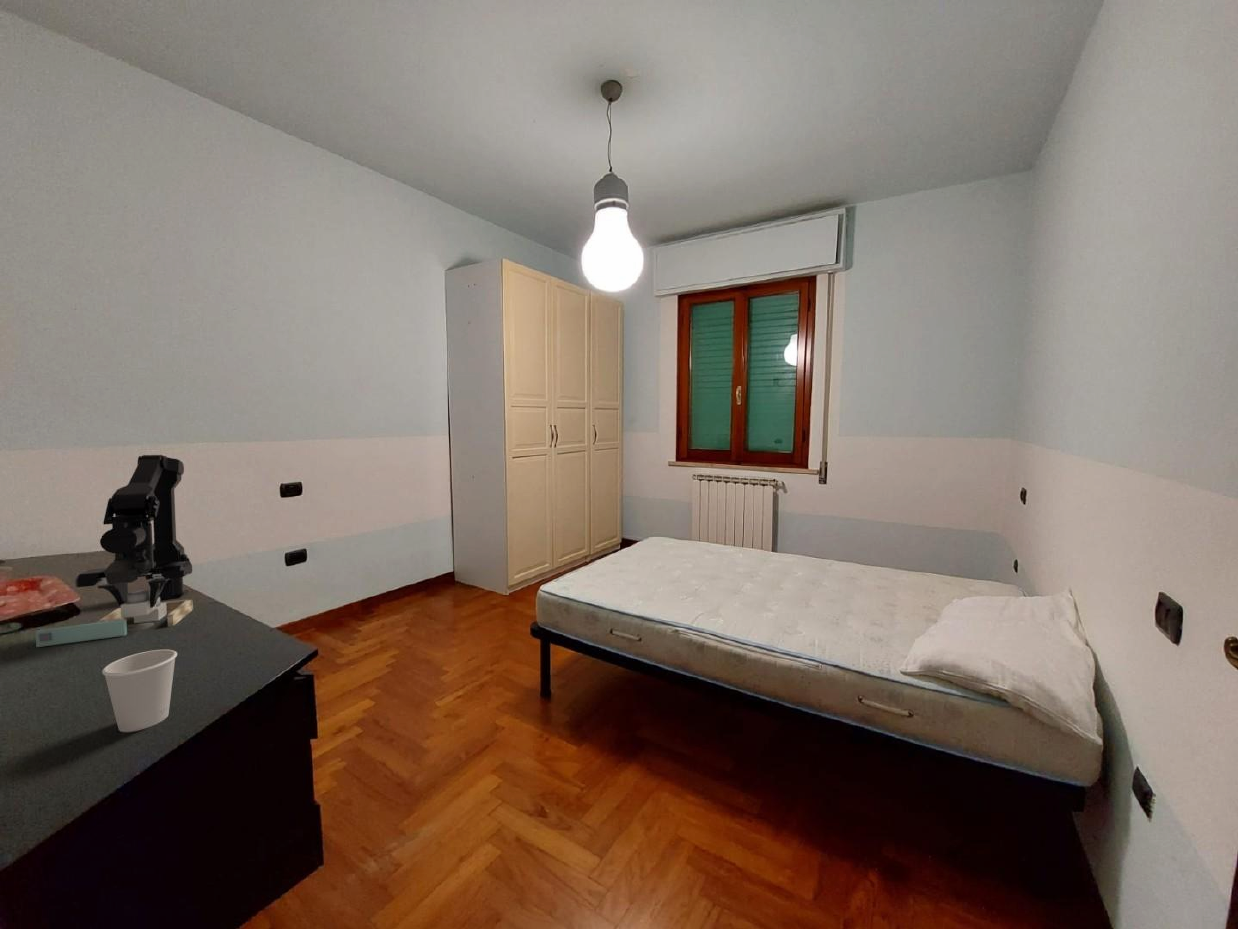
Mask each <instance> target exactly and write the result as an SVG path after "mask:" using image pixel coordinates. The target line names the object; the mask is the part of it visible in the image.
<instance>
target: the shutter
mask: <svg viewBox="0 0 1238 929" xmlns="http://www.w3.org/2000/svg"><path fill="white" fill-rule="evenodd" d="M127 626H128V625H127V619H123V620H114V621H106V622H98V623H95V622H90V623H83V624H82V623H81V624H75V625H73V624H72V625H66V626H65V625H64V626H58V627H48V628H42V629H37V630H36V631H35V644H36V648H41V647H47V646H48V647H49V646H55V645H63V644H70V643H78V642H79V643H80V642H86V641H93V640H100V639H110V638H114V637H115V638H116V637H124V636H127V635H128V631H127V628H128V627H127Z"/></svg>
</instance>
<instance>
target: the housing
mask: <svg viewBox="0 0 1238 929" xmlns="http://www.w3.org/2000/svg"><path fill="white" fill-rule="evenodd" d="M193 602H194V601H193V598H191V599H190V598H189V599H181V600H170V601H164V602H161V601H160V603H166V607H167V614H166V616H167V618H166V619H167V628H168V627H174V626H175V625H176V624H178V623H179V622H180V621H181V620H183V619H184V618H185V617H186V616H188V615H189V613H191V612H192V611H193V610H194V604H193ZM163 618H164V617H162V618H161V619H163ZM123 619H126V620H127V619H134V616H132V617H124V618H121V607H120V606H119V607H118V608H116V609H115V610H112V612H110V613H108V614H106V615H105V616H103V617H102V618H100V619H98V620H97V621H95V622H94V623H98V622H106V621H114V620H123ZM154 625H155V623H154V622H152V621H149V622H141V623H136V624H135V625H131V626H128V627H127V632H135V631H140V630H146V629H147V628H151V627H153V626H154Z"/></svg>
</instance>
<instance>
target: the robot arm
mask: <svg viewBox="0 0 1238 929" xmlns="http://www.w3.org/2000/svg"><path fill="white" fill-rule="evenodd" d="M184 473H185V466H184V463H183V461H181V460H180V459H178V458H172V457H168V456H166V455H163V454H143V455H138V458H137V465H136V468H135V470H134V472H133V473H132V476H131V478H130V479H129V482H128V483H127V485H125V486H122V487H119V488H118V489H116V491H115V492H114V493H113V494H112V496H111V497H110V498H108V500H107V505H106V509H105V513H104V518H103V522H102V523H103V526H104V525H111V528H110V529H108V530H107V531H105V532H103V534H102V535H101V537H100V539H99V544H100V547H101V548H102V549H103V550H104V551H105V552H107V553H110V554H114V560H113V561H112V562H111V563H110V564H109V565H108V566H107V567H102V568H90V569H89V570H86V571H84V572H81V573H78V575H77V576H76V578H75V581H74V582H75V588H85V587H86V588H87V587H95V586H96V585H97V584H98V583H99V585H97V588H98V589H103V590H106V591H107V592H109V593H110V594H111V595H112V596H113V597H114V599H115V601H116V603H117V604H118V605H119V608H120V607H121V605H122V604H123V603H125V602H127V594H128V593H129V590H128V589H129V588H128V584H129V583H133V582H136V581H137V580H138V579H139V578H141V577H145V579H146V580H147V581H148V580H150V581H148V582H147V583H148V586H149V587H150V588H149V590H150V591H149V597H150V607H151V608H152V607H154V606H155V604H156V602H157V600H158V597H160V601H165V600H175V599H181V598H182V597H184V596H185V595H186V594H188V593H189V592H190V590H189V589H186V590H184V577H186V576H187V575H190V574H192V573H193V564H192V562H191V561H190V558H189V557H188V555H187V554H186V553H185V547H184V546H183V545H182V544H181V543H180V542H179V541H178V540H177V529H176V528H177V527H176V523H177V522H176V503H175V500H176V499H175V489H176V487H178V485H179V484H180V483H181V481H182V475H184ZM152 523H153V525H152ZM152 526H153V527H152Z"/></svg>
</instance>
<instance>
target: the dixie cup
mask: <svg viewBox="0 0 1238 929" xmlns="http://www.w3.org/2000/svg"><path fill="white" fill-rule="evenodd" d="M177 656H178V652H177V651H175V650H172V649H164V648H163V649H155V650H154V649H153V650H148V651H143V652H139V653H133V654H131V655H128V656H125V657H122V658H119V659H117V660H114V661H113V662H110V663H109V664H107V665H106V666H105V667H104V668H103V669H102V671H101V673H102V675H104V676H105V677H104V678H105V681H106V684H107V685H106V686H107V688H108V694H109V697H110V700H111V705H112V708H113V712H114V717H115V721H116V724H117V727H118V731H120V732H121V733H131V732H132V733H133V732H137V731H141V730H145V729H148V728H150V727H153V726H155V725H157V724H159V723H162V721H164V720H166V719H167V718H168V716H169V713H170V706H171V705H170V703H171V696H172V688H173V680H174V679H173V678H174V673H175V672H174V671H175V664H176V663H175V662H176V658H177Z"/></svg>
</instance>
